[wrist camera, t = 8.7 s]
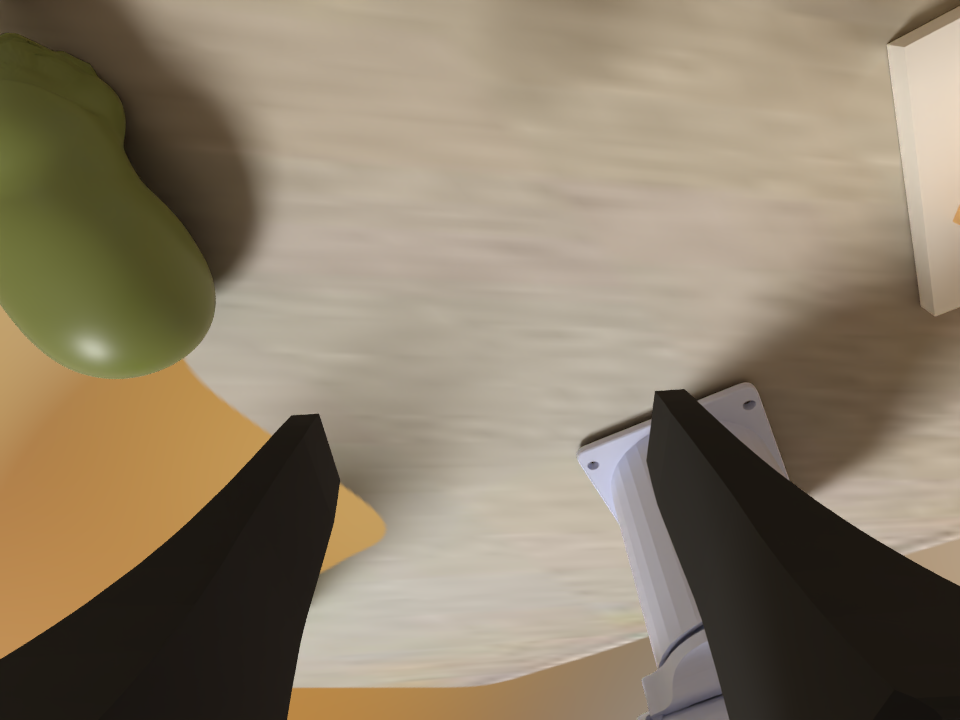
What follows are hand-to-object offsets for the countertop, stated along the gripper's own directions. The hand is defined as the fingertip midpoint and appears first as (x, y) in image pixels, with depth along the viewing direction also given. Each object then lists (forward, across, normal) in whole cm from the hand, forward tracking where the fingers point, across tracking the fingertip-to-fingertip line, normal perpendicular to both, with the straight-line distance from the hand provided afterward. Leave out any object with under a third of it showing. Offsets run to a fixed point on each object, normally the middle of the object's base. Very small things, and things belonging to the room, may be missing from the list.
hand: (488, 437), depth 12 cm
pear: (+10, +12, -3) cm, 16 cm away
